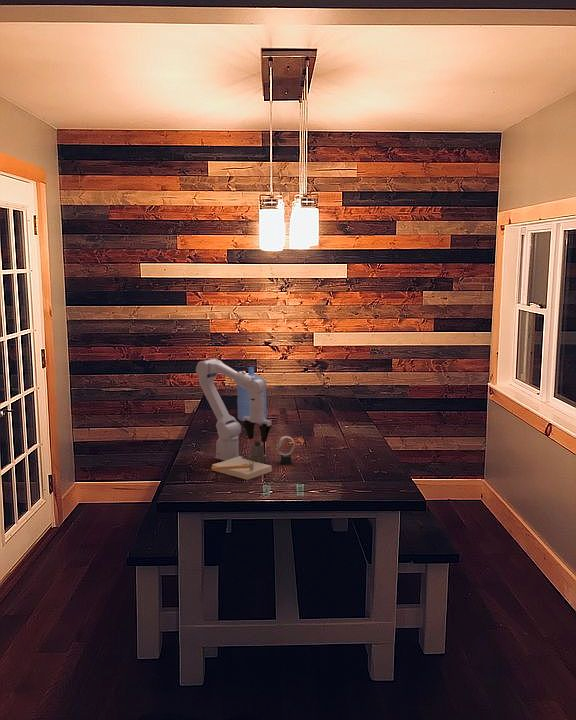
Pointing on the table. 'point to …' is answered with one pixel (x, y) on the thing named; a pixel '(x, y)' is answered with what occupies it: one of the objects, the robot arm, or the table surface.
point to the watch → (285, 456)
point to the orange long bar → (235, 467)
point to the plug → (257, 452)
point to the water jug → (247, 398)
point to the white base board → (243, 472)
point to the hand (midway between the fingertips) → (257, 440)
